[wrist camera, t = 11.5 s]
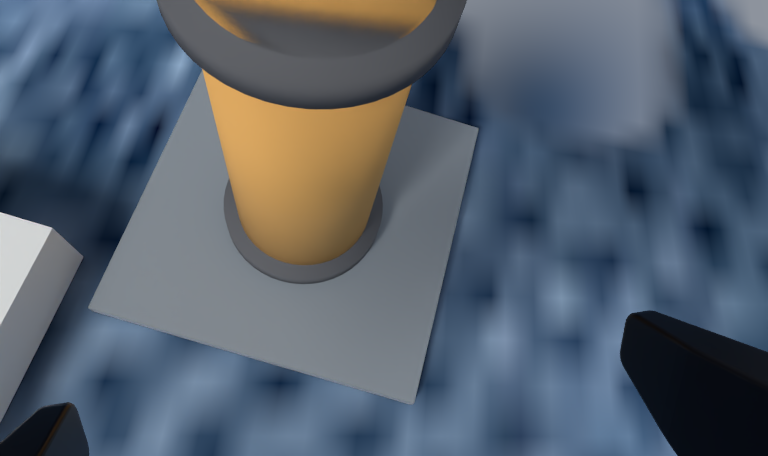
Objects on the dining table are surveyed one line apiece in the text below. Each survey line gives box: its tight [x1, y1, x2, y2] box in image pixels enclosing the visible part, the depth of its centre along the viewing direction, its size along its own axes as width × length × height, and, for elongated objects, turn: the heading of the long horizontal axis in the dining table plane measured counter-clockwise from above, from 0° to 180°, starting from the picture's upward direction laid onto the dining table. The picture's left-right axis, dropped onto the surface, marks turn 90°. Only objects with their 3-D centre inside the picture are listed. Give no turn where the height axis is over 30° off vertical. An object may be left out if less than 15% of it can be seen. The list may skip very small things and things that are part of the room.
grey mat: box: [88, 70, 479, 405], centre depth 23 cm, size 12×12×1 cm
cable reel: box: [157, 0, 467, 284], centre depth 17 cm, size 6×6×13 cm
